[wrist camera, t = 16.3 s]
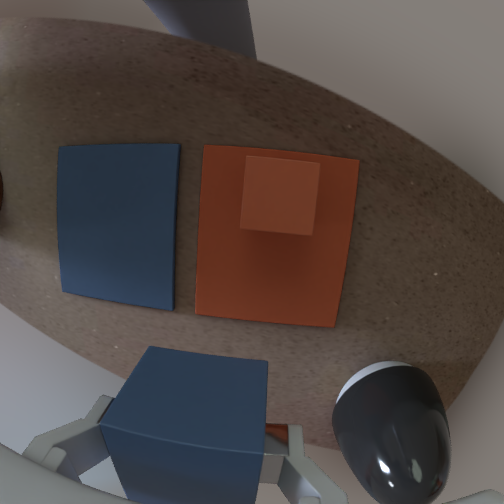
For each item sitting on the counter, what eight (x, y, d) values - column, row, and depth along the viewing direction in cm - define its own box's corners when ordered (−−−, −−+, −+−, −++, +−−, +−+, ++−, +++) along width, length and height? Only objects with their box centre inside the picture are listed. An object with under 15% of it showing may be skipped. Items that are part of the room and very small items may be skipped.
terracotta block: (251, 158, 23) (246, 155, 19) (312, 165, 23) (320, 163, 19) (245, 218, 25) (239, 229, 20) (305, 224, 24) (312, 236, 20)
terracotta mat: (205, 145, 24) (203, 144, 23) (357, 160, 23) (359, 160, 23) (196, 311, 27) (195, 314, 27) (333, 324, 27) (334, 327, 26)
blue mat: (62, 147, 25) (58, 146, 24) (181, 144, 24) (179, 143, 23) (65, 289, 28) (62, 291, 27) (174, 308, 28) (172, 311, 27)
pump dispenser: (333, 432, 30) (352, 548, 15) (319, 360, 28) (345, 497, 13) (419, 407, 29) (468, 508, 14) (420, 331, 27) (501, 437, 12)
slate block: (149, 344, 12) (98, 423, 7) (268, 359, 11) (264, 453, 7) (158, 425, 13) (127, 500, 8) (258, 439, 13) (251, 523, 8)
